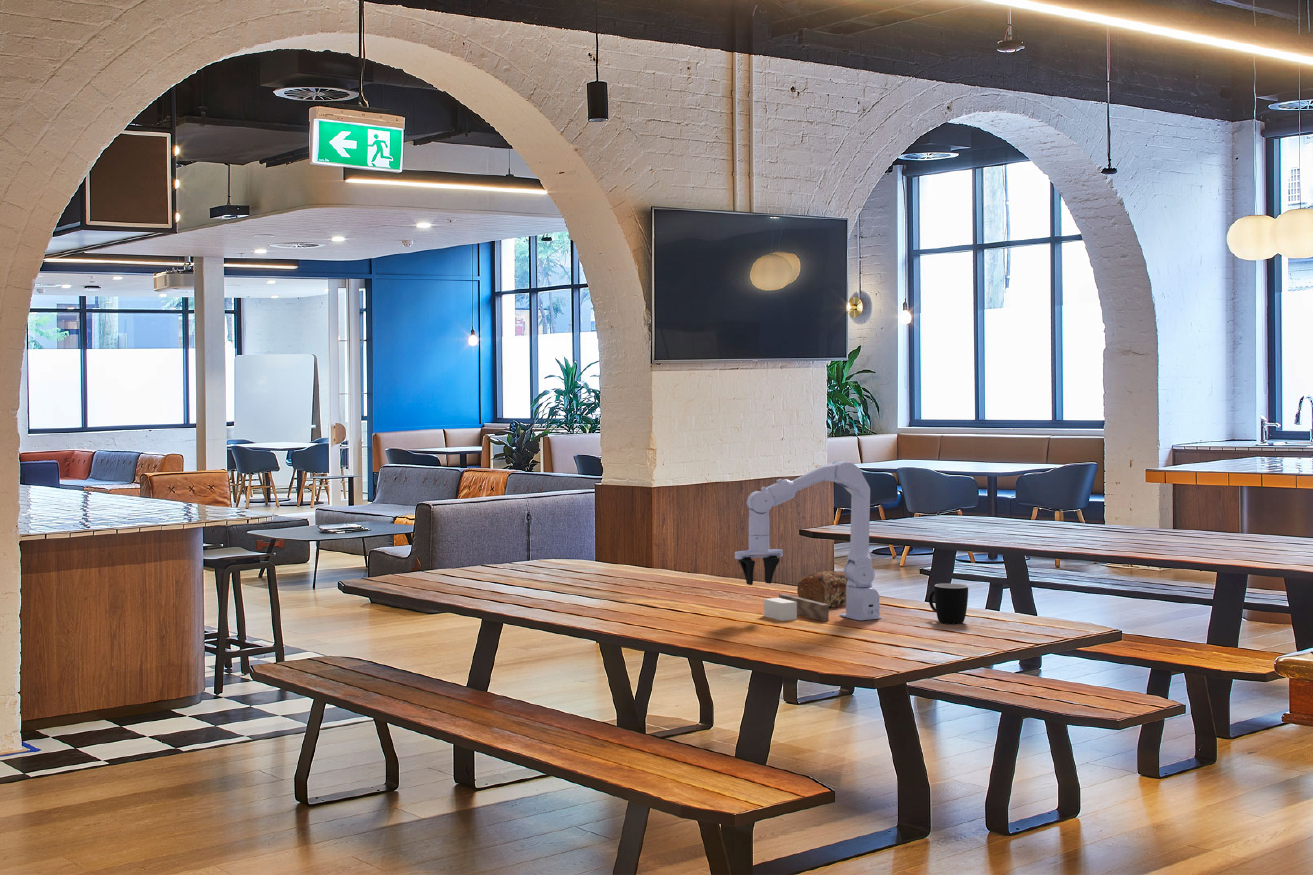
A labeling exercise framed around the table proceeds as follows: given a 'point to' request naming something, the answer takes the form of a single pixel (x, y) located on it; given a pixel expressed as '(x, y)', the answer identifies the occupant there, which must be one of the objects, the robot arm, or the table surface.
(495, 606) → the table surface
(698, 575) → the table surface
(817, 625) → the table surface
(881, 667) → the table surface
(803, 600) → the board
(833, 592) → the bread
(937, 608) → the mug
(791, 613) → the block
